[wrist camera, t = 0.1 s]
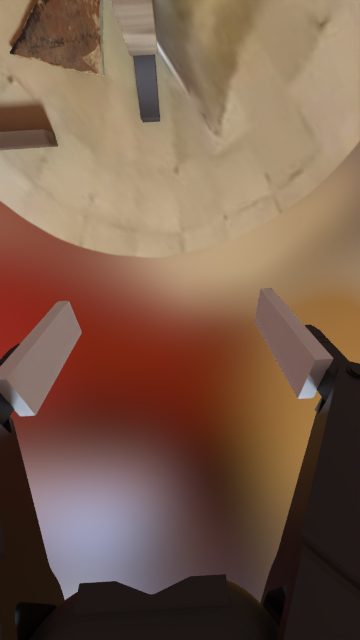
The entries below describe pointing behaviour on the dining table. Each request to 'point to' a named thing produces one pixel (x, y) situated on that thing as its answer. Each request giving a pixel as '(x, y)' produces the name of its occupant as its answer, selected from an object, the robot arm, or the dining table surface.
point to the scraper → (141, 50)
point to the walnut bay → (27, 139)
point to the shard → (64, 35)
